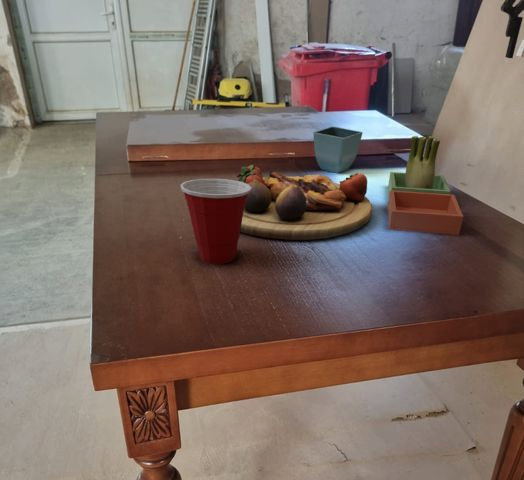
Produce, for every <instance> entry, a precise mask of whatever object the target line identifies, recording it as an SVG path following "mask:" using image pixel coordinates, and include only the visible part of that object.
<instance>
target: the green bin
mask: <svg viewBox="0 0 524 480" xmlns="http://www.w3.org/2000/svg"><path fill="white" fill-rule="evenodd" d="M405 173H406V172H395V171H390V172H389V178H388V185H387V191H388V195H389V193H390V190H394V191H408V192H423V193H437V194H451V190H450V187H449V184H448V182H447V180H446V177H445V175H444V174H435V177H434V183H433V188H432V189H423V188H408V187H406V184H405Z"/></svg>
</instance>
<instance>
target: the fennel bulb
mask: <svg viewBox="0 0 524 480" xmlns="http://www.w3.org/2000/svg"><path fill="white" fill-rule="evenodd" d="M410 140H411V142H410V148H409V155H408V159H407V163H406V166H405V167H406V168H405V172H404V173H405V184H406V187H408V188H423V189H432V188H433V183H434V177H435V175H436V174H435V173H436V159H437V155H438V151H439V147H440V143H441V140H439V138H434V136H428V137H426V136H420V137H419V136H417V135H413V136H411V139H410Z"/></svg>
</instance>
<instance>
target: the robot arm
mask: <svg viewBox="0 0 524 480" xmlns="http://www.w3.org/2000/svg"><path fill="white" fill-rule="evenodd" d="M516 1H517V0H504V2H503V3H502V5H501V6H500V11H501V12H502V13H505V14H506V15H508V21H507V25H506V29H505V37H507V38H509V40H508V45H507V47H506V52H505V58H507V59H513V58H514V53H515V51H516V47H517V43H518V39H519V36H520V30H521V27H522V22H523V19H524V17H523V16H520V14H521V13H523V11H524V0H519V1H518V2H517V3H516ZM515 3H516V4H515Z"/></svg>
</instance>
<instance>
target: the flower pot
mask: <svg viewBox="0 0 524 480" xmlns="http://www.w3.org/2000/svg"><path fill="white" fill-rule="evenodd" d="M312 134H313V149H314V157H315V160H316V162H317V165H318V166H319V168H320V170H322V171H327V172H330V173H335V174H340V173H342V172H344V171H347V170H349V169H350V168H351V166H352V165H353V163H354V162H355V160H356V158H357V155H358V153H359V149H360V145H361V141H362V137H363V131H359V130H354V129H348V128H343V127H338V126H329V127H326V128H323V129H320V130H316V131H313V133H312Z"/></svg>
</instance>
